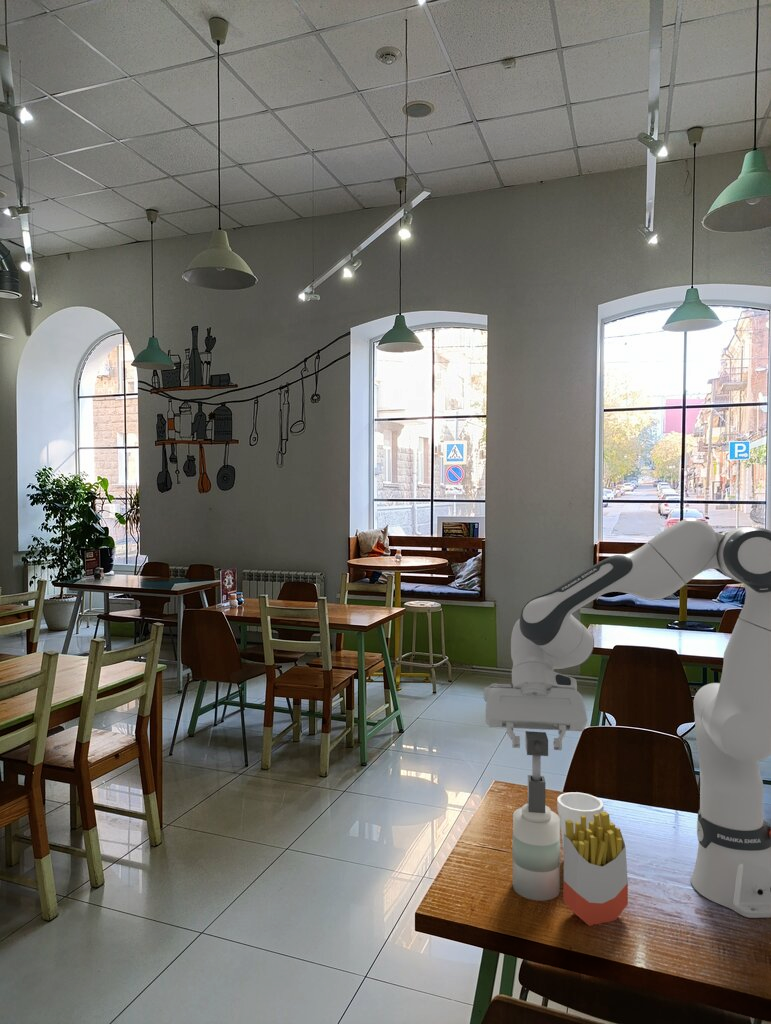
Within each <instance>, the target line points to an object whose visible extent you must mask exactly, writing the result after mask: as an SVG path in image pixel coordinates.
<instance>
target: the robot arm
mask: <svg viewBox="0 0 771 1024" xmlns="http://www.w3.org/2000/svg"><path fill="white" fill-rule="evenodd" d="M711 569H714V570H715V571H717V572H719V574H722V575H723V576H724V577H727V578H728V579H731V580H734V581H736V582H738V583H742V584H743V587H744V590H745V599H744V604H743V605H742V609H741V610H740V613H739V615H738V618H737V620H736V623H735V625H734V628H733V629H732V633H731V635H730V637H729V639H728V643H727V645H726V648H725V650H724V653H723V665H722V672H721V677H720V680H719V681H720V682H711V683H708V684H705V685H703V686H701V687H700V688H699V689H698V690H697V692H696V693H695V695H694V698H693V714H694V726H695V727H694V728H695V738H696V749H697V757H698V764H699V778H700V779H699V785H700V786H699V788H700V790H699V794H700V795H699V798H700V799H699V809H698V810H697V820H696V835H697V841H698V847H697V853H696V860H695V865H694V869H693V871H692V874H691V877H690V883H691V885H692V887H693V889H695V891H697V892H698V893H699V894H700V895H701V896H703V897H704V898H707V900H709V901H711V902H714V903H715V904H719V905H721V906H723V907H726V908H728V909H731V910H732V911H734V912H736V913H737V914H739V915H741V916H743V917H746V918H749V919H750V918H753V919H755V918H756V919H757V918H759V919H760V918H771V917H770V916H771V823H769V822H767V821H766V820H765V819H764V783H763V782H764V781H763V778H762V774H761V770H760V766H759V762H762V761H765V760H766V759H768V758H769V757H770V756H771V530H770V529H767V528H764V527H758V526H741V527H737V528H734V529H729V530H723V531H717V530H715V529H714V528H713V527H712V526H711V525H709V524H708V523H707V522H705V521H703V520H701V519H699V518H696V517H687V518H684V519H682V520H680V521H678V522H676V523H674V524H673V525H671V526H669V527H667V528H666V529H664V530H663V531H661V532H659V533H658V534H657V535H655V536H654V537H653V538H651V539H650V540H648V542H646V543H644V544H643V545H642V546H640V547H638V548H636V549H635V550H633V551H630V552H627V553H625V554H615V555H611V556H609V557H607V558H604V559H603V560H601V561H599V562H597V563H595V564H594V565H592V566H590V567H589V568H586V569H585V570H584V571H582V572H580V573H579V574H577V575H575V576H573V577H571V579H569V580H567V581H566V582H564V583H562V584H561V585H559V586H557V587H556V588H553V589H551V590H550V591H548V592H545V593H542V594H540V595H537V596H535V597H532V599H530V600H529V601H527V603H525V605H524V606H523V607H522V610H521V612H520V616H519V619H518V620H516V622H515V623H514V625H513V628H512V631H511V637H510V638H511V639H510V655H511V656H510V657H511V661H512V668H511V683H491V684H490V685H487V686H485V687H484V689H483V700H484V701H485V702H486V704H485V714H484V715H485V716H484V717H485V718H484V721H485V724H486V725H487V726H488V727H489V728H505V732H506V734H507V736H508V737H509V739H510V740H511V747H512V748H513V749H514V748H515V749H520V747H521V737H520V735H516V734H515V733H514V729H522V730H523V729H524V730H526V729H528V730H542V731H543V730H546V731H547V730H548V731H557V734H558V737H554V738H553V740H552V743H553V744H552V745H553V750H554V751H562V749H563V743H562V742H563V740H564V738H565V736H566V734H567V732H583V731H584V730H585V729H586V728H587V723H588V714H587V710H586V705H585V703H584V699H583V696H582V694H581V693H580V692H579V691H578V690H577V689H578V685H577V684H578V683H577V679H576V678H574V677H572V676H568V675H566V674H562V673H560V672H556V671H554V670H564V669H570V668H574V667H578V666H580V665H582V664H584V663H585V662H587V661H588V659H590V657H591V655H592V654H593V651H594V648H595V639H594V638H595V637H594V635H593V633H592V632H591V631H590V630H589V629H588V628H587V626H585V625H584V624H583V623H582V622H581V621H580V620H579V619H577V618H576V617H575V616H574V615H573V613H574V612H576V611H577V610H579V609H581V608H582V607H584V606H586V605H587V604H589V603H591V602H592V601H594V600H596V599H598V598H599V597H600V596H602V595H605V594H608V593H613V592H615V593H616V592H618V593H625V594H629V595H632V596H635V597H636V598H640V599H644V600H650V601H659V600H663V599H665V598H667V597H670V596H671V595H673V594H675V593H676V592H677V591H678V590H680V589H681V588H683V587H684V586H685V585H686V584H687V583H689V582H690V581H692V580H693V579H694V578H695V577H696V576H698V575H700V574H701V573H703V572H706V571H707V570H711Z"/></svg>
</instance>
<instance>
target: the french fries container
mask: <svg viewBox="0 0 771 1024" xmlns="http://www.w3.org/2000/svg"><path fill="white" fill-rule="evenodd" d="M609 818H610V813H608V812H607V811H605V810H603V812H600V819H599V815H598V814H594V822H593V821H591V822H590V823H589V829H587V828H586V816H585V815H581V824H580V823H579V822H575V833H574V826H573V822H572V821H571V820H567V821H565V823H566V834H564V851H563V903H564V904H565V905H566V906H567V907H568V908H569V909H570V910H571V911H572V912H573V913H574V914H575V915H576V916H577V917H578V918H579V919H581V921H583V922H584V923H585V924H586V925H588V926H589V925H590V926H594V924H595V925H600V924H604V923H608V922H614V921H616V920H617V919H618V917H619V916H620V915H621V914H622V912H623V911H624V910H625V909H626V907H627V906H628V903H629V899H628V898H629V891H628V889H629V880H628V865H627V850H626V847H627V846H626V844H625V840H624V837H623V834H622V832H621V828H620V827H616V824H615V823H614V822H611V823H610V821H609ZM600 825H601V826H600Z"/></svg>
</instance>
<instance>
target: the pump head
mask: <svg viewBox="0 0 771 1024" xmlns="http://www.w3.org/2000/svg"><path fill="white" fill-rule="evenodd" d="M524 734H525V738H524V739H525V742H524V743H525V744H524V745H525V751H526V756H532V762H531V763H532V767H531V768H532V771H531V772H532V773H531V775H532V781H541V776H542V775H541V770H542V769H541V767H542V766H541V765H542V763H541V762H542V759H541V757H548V756H549V738H548V736H547V732H545V731H544V732H543V731H527V730H526V731H525V733H524Z"/></svg>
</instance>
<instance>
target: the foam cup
mask: <svg viewBox="0 0 771 1024" xmlns="http://www.w3.org/2000/svg"><path fill="white" fill-rule="evenodd" d="M556 803H557V804H556V805H557V806H556V807H557V814H558V816H559V818H560V833H561V835H560V836H561V841H562V851H563V852H564V834H566V823H565V821H567V820H571V821H572V822H573V826H574V833H575V822H579V823H580V824H581V815H585V816H586V828H587V829H589V823H590V822H591V821H593V822H594V814H598V815H599V819H600V812H604V806H605V805H604V802H603V800H601V799H600V798H599V797H597V796H594V795H592V794H590V793H584V792H578V791H576V792H572V791H571V792H565V793H562V794H560V795H559V796H557V802H556ZM600 826H601V825H600Z"/></svg>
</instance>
